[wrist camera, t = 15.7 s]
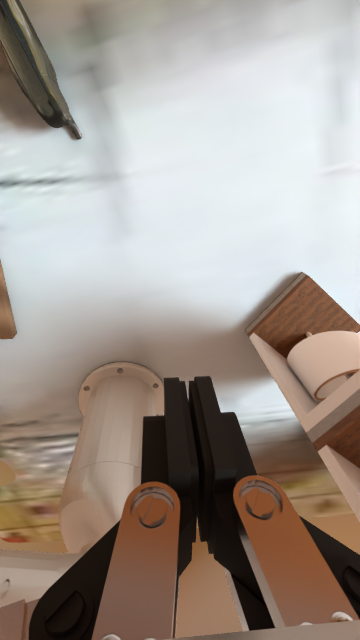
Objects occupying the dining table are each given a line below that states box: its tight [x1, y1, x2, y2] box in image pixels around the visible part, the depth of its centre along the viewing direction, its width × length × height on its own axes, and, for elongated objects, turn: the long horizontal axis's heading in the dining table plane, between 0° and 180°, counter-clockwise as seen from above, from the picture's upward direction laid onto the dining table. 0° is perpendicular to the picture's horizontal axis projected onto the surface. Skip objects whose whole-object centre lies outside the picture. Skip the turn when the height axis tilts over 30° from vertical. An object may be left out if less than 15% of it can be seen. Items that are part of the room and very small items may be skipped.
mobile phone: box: [0, 0, 82, 139], centre depth 28 cm, size 5×3×15 cm
